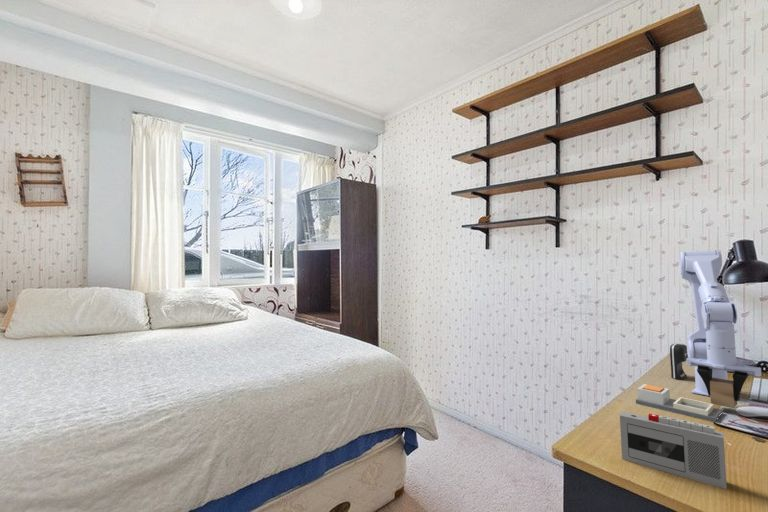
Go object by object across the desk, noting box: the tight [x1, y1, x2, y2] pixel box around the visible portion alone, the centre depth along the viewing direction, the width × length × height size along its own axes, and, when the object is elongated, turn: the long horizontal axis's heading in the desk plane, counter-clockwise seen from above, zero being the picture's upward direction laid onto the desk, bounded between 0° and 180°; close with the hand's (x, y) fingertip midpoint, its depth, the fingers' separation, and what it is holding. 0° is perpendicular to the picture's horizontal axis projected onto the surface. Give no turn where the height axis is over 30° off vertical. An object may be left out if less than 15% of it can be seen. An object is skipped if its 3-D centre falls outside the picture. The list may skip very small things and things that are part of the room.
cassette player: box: [619, 410, 728, 490], centre depth 70 cm, size 16×3×10 cm, turn 47°
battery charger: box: [669, 343, 688, 380], centre depth 124 cm, size 7×4×11 cm, turn 128°
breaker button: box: [643, 384, 665, 393], centre depth 103 cm, size 4×4×3 cm
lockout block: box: [710, 378, 738, 409], centre depth 96 cm, size 4×4×6 cm
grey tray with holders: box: [635, 383, 723, 423], centre depth 98 cm, size 8×17×4 cm, turn 38°
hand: (723, 397), depth 96 cm, fingers closed on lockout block, 4 cm apart
